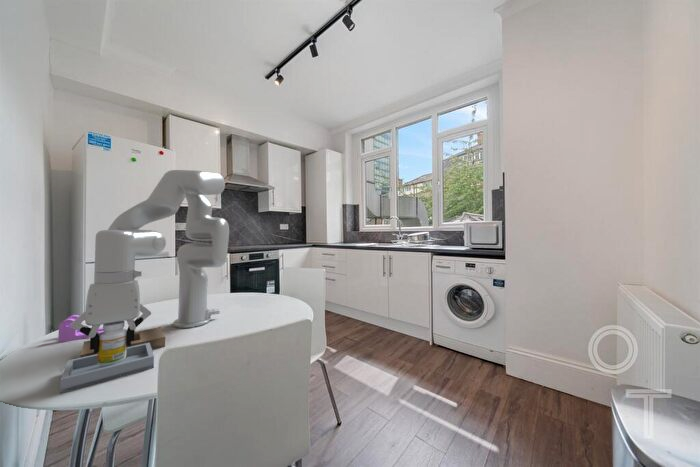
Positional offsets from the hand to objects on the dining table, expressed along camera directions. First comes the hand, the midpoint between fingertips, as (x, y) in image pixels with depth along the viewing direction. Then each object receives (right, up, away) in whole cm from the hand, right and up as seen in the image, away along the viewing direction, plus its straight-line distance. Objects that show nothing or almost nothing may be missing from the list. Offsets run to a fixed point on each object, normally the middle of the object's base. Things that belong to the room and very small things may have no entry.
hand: (112, 346), depth 63 cm
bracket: (-28, -6, +21) cm, 35 cm away
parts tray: (0, -6, 0) cm, 6 cm away
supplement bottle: (0, -4, 0) cm, 4 cm away
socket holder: (-7, -6, +11) cm, 14 cm away
